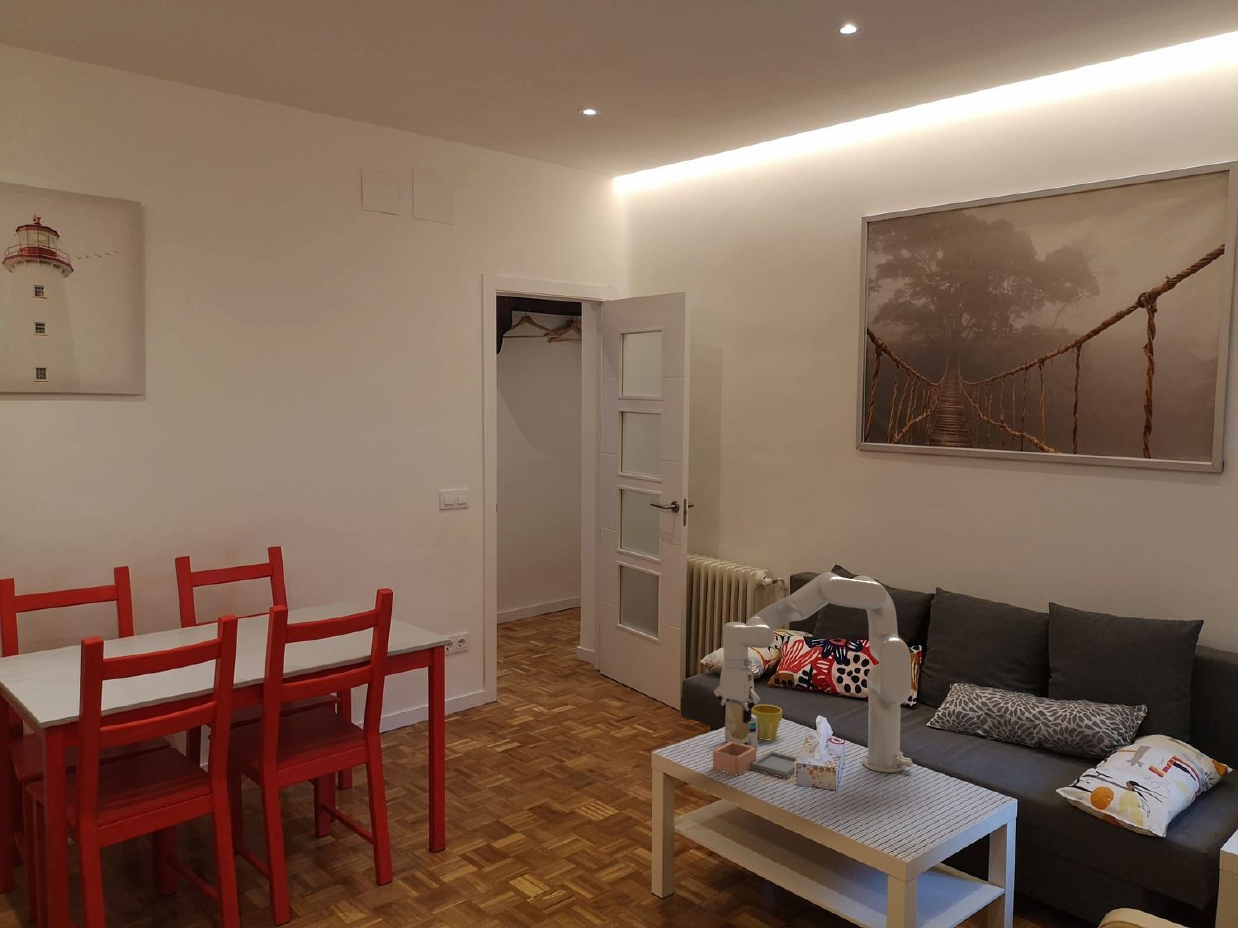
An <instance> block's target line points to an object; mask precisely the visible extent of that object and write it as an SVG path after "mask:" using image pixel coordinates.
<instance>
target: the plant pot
mask: <svg viewBox="0 0 1238 928" xmlns="http://www.w3.org/2000/svg"><path fill="white" fill-rule="evenodd" d="M751 714H752V715H754V716H756V717H758V722H757V737H758V738H757V739H759V738H762V739H774V738H775V739H776V737H777V734H778V730H779V726H780V722H781V721H782V718H783V710H782V708H780V707H779V706H776V705H773V704H756V705H755V706H754V707H753V708H752V709H751ZM775 739H774V740H775Z"/></svg>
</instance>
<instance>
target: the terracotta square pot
mask: <svg viewBox="0 0 1238 928" xmlns="http://www.w3.org/2000/svg"><path fill="white" fill-rule="evenodd" d="M755 760H757V749H756V748H754V747H752V746H748V745H744V744H741V745H739V744H736V743H734V742H727V743H725V744H723V745H721V746H720V747H717V748H715V749H713V750H712V768H715V769H716V770H715V769H714V770H715V771H717V770H719V771H718V772H721V771H725V772H728V773H731V774H730V775H732V774H734V775H733V776H738V775H740V776H742V775H743V774H745V773H746V772H745V771H747V772H748V771H750V770H751V769H750V768H751V763H752V762H754V761H755ZM749 769H750V770H749ZM744 772H745V773H744ZM728 773H727V774H728ZM742 773H743V774H742ZM736 774H737V775H736ZM741 774H742V775H741Z"/></svg>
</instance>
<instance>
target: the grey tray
mask: <svg viewBox="0 0 1238 928" xmlns="http://www.w3.org/2000/svg"><path fill="white" fill-rule="evenodd" d="M796 758H798V757H796V756H793V755H788V754H786V753H780V752H777V751H773V750H770V751H769V752H767V753H766V754H764V755H762V756H760V757H758V758H756V760H755V761H754V762H752V763H751V769H754V770H753V771H755V770H757V771H756V772H759V771H762V772H766V773H768V774H767V775H770V774H771V776H774V775H778V776H781V777H785V778H787V779H789V778H788V776H789V775H792V774H793V773H794V771H795V764H794V762H795V760H796ZM751 769H750V770H751ZM762 772H761V773H762ZM766 773H765V774H766ZM793 775H794V774H793ZM793 775H792V776H793ZM781 777H780V778H781ZM785 778H784V779H785Z"/></svg>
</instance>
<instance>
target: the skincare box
mask: <svg viewBox="0 0 1238 928" xmlns="http://www.w3.org/2000/svg"><path fill="white" fill-rule="evenodd" d="M744 710H745V707H744V705H743V702H742V701H737V700H732V699H730V700H729V701H727V702H726V714H725V719H724V720H725V722H724V724H725V725H724V741H725V740H728V741H731V742H734V743H736V744H739V745H741V744H743V743H745V742H748V727H749V722H748V723H744Z"/></svg>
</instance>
